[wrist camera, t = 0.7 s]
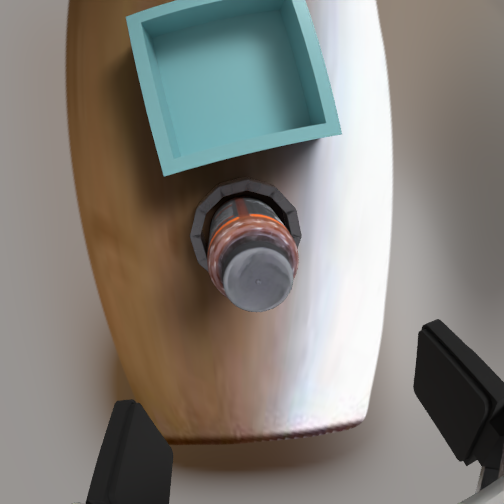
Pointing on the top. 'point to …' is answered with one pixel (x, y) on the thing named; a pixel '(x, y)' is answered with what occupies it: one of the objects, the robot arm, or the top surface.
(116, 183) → the top surface
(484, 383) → the robot arm
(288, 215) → the collar
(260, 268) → the supplement bottle
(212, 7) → the bin
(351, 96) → the top surface
